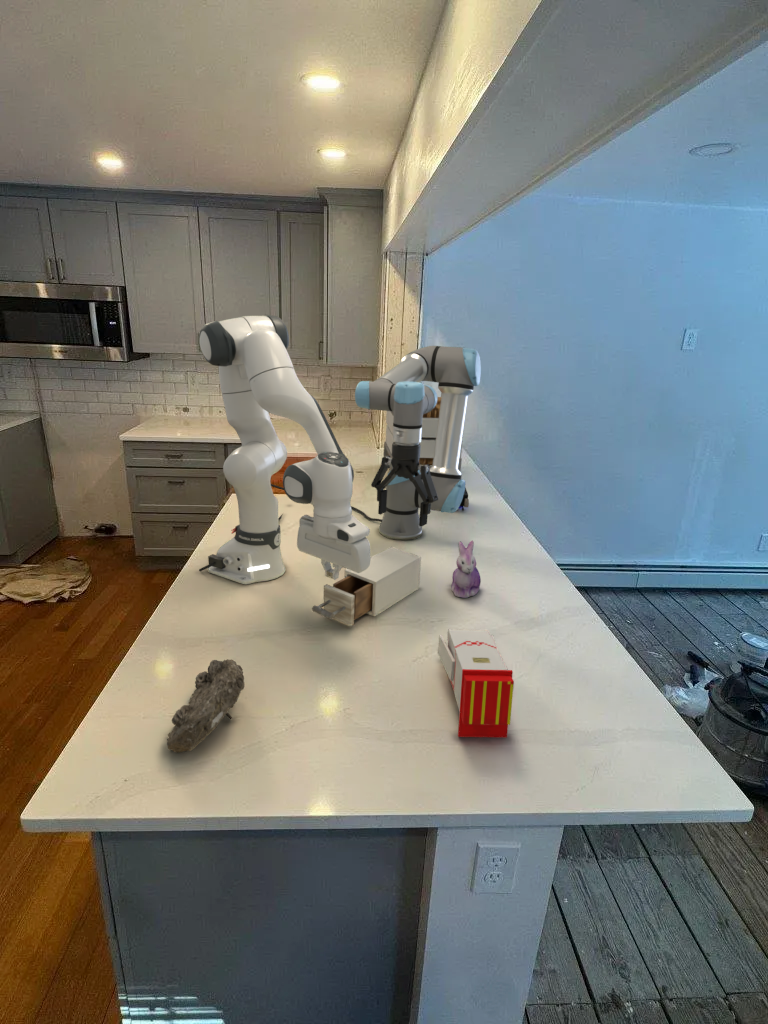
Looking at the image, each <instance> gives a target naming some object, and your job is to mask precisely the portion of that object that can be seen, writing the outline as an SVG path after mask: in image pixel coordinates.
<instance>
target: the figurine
mask: <svg viewBox="0 0 768 1024" xmlns="http://www.w3.org/2000/svg"><path fill="white" fill-rule="evenodd" d="M457 544H458V557H457V558H456V568H455V569H454V570H453V572H452V576H451V577H452V579H451V580H452V581H451V585H450V586H451V591H452V593H453V594H454V596H455V597H458V598H463V599H464V598H466V599H467V598H469V597H473V596H476V595H477V594H478V592H479V590H480V586H481V582H482V580H481V575H480V572H479V570H478V567H476V566H477V560H476V557H475V555H474V547H475V541H474V540H470V541H469V543H468V545H467V546H465V545H464V543H463V542H462V541H458V543H457Z"/></svg>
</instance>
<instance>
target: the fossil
mask: <svg viewBox="0 0 768 1024" xmlns="http://www.w3.org/2000/svg"><path fill="white" fill-rule="evenodd" d="M243 670H244V669H243V667H242V665H240V664H237V662H236V661H235V660H234V659H232V658H231V659H227V658H226V659H224V660H223V661H222V660H217V659H212V660H211V661H210V663H209V665H208V666H207V671H201V672H199V673H198V674H197V675H196V676H195V680H194V684H195V685H194V687H195V689H194V690H193V693H192V694H191V697H190V698H189V700H188V704H184V705H182V706H181V707H180V709H177V710H176V711H175V713H174V715H173V716H172V718H171V723H172V724H173V727H172V730H171V731H170V732H168V734H167V738H166V741H167V742H166V745H167V749H168V750H169V751H173V752H174V753H176V754H178V753H182V752H188V751H189V752H192V751H193V750H195V748H196V747H197V746H199V744H200V743H201V742H203V741H204V740H205V739H206V738H207V737H208V736H209V735H210V734H211V733H212V732H214V730H215V729H217V727H218V726H219V724H220V722H221V721H222V720H223V719H224V718H225V716H226V717H227V719H229V720H233V717H232V715H230V714H229V710H230V709H231V708H234V706H235V704H236V703H237V702H238V699H239V697H240V695H241V693H242V691H243V690H245V689H244V688H245V675H244V671H243Z"/></svg>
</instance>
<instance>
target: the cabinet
mask: <svg viewBox="0 0 768 1024" xmlns="http://www.w3.org/2000/svg"><path fill="white" fill-rule="evenodd" d="M421 564H422V556H421V555H418V554H415V553H412V552H409V551H405V550H403V549H400V548H397V547H394V546H389V547H388V548H386V549H384V550H382V551H380V552H378V553H376V554H374V555H372V556H370V566H369V567H368V568H367V569H366V570H364V571H362V572H360V573H357V572H354V571H352V570H349V569H346V568H345V569H344V578H346V577H347V576H349V575H351V576H354V577H356V578H359V579H362V580H364V581H367V582H369V583H372V584H373V598H372V610H370V611H369V612H367V613H366V614H367V615H369V616H372V617H376V616H378V615H380V614H381V613H383V612H384V611H386V610H388V609H389V608H390V607H393V606H394V605H396V604H397V603H399V602H400V601H402V600H403V599H405V598H407V597H409V595H411V594H412V593H414V592H416V591H418V590H420V578H421V566H422V565H421Z"/></svg>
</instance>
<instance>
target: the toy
mask: <svg viewBox="0 0 768 1024" xmlns="http://www.w3.org/2000/svg"><path fill="white" fill-rule="evenodd" d="M446 640H447V643H446V641H445V639H444V636H443V635H442V634H439V637H438V646H437V656H438V657H439V659H440V661H441V663H442V666H443V668H444V670H445V672H446V674H447V677H448V679H449V681H450V684H451V687H452V690H453V693H454V697H455V701H456V705H457V708H458V711H459V714H458V715H459V716H458V730H457V731H458V732H457V737H458V738H508V731H509V726H510V725H511V717H512V707H513V697H514V696H513V695H514V684H515V680H514V679H513V673H514V671H513V670H512V669H508V667H507V665H506V662H505V661H504V659H503V658H502V655H501V653H500V651H499V649H498V647H497V643H496V639H495V637H494V635H493V634H491V632H490V631H489V629H467V628H466V629H465V628H463V629H461V628H460V629H459V628H448V630H447V639H446Z"/></svg>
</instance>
